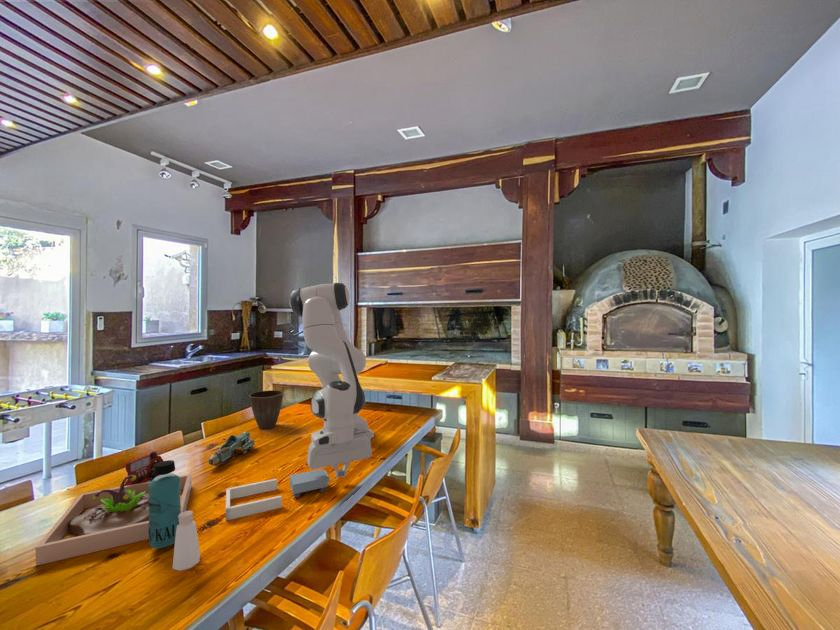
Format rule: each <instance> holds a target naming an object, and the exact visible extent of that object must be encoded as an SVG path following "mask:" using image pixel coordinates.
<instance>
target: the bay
mask: <svg viewBox="0 0 840 630" xmlns="http://www.w3.org/2000/svg"><path fill="white" fill-rule="evenodd" d="M277 490H278V479H277V478H272V479H267V480H263V481H259V482H253V483H249V484H248V483H247V484H242V485H239V486H233V487H229V488H226V490H225V493H226V494H225V521H226V522H227V521H232V520H234V519H239V518H243V517H247V516H252V515H257V514H260V513H264V512H269V511H272V510H278V509H281V508H282V509H283V502H282V501H283V499H282V495H278V496H273V497H268V498H263V499H258V500H255V501H254V500H253V501H250V502H245V503H240V504H237V505H232V506H231V500H234V499H239V498H243V497H247V496H253V495H258V494H262V493H266V492H271V491H277Z"/></svg>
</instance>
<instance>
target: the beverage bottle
mask: <svg viewBox="0 0 840 630" xmlns="http://www.w3.org/2000/svg"><path fill="white" fill-rule="evenodd" d="M174 471H176V464H175V461H174V460H172V459H171V460H170V459H169V460H163V461H162V462H159V463H157V464H156V465H155V468H154V474H155V475H160V476H157V477H156V478H154V479H153V480H152V481H151V482H150V483H149V500H148V501H149V503H148V504H149V525H148V538H149V539H148V543H149V546H150V548H153V549H161V548H166V547H169V546H171V545H173V544H175V536H176V528H177V525H179V518H178V516H179V514H180V513H181V508H182V507H181V504H180V501H181V490H180V477H179V476H180V475H177V474H175V473H173V472H174Z"/></svg>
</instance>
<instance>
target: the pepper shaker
mask: <svg viewBox="0 0 840 630" xmlns="http://www.w3.org/2000/svg"><path fill="white" fill-rule="evenodd" d="M178 518H179V525H177V528H176V536H175V543H174V548H173V558H172V559H173V560H172V570H175V571H178V572H182V571H185V570H189V569H191V568H193V567H194V566H196V565H197V564H199V562H200V558H201V554H200V553H201V552H200V545H199V538H198V532H197V524H196V521H195V520H193V519H194V511H193V510H186V511H185V512H182V513H180V514H179V516H178Z"/></svg>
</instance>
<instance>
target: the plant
mask: <svg viewBox="0 0 840 630" xmlns="http://www.w3.org/2000/svg"><path fill="white" fill-rule="evenodd" d="M128 478H129V479H130V480H131V481H134V480H135V479H136V476H135V475H129V476H128V475H126V476H125V477H124V479H122V482H121V484H120V485H119V487H120V491H119V492H115V491H113V490H106V489H107V488H105V489H101V490H102V491H100V490H99V491H100V492H98V493H97V494H95V495H94V496H93V500H97V499H98V498H99V494H100V493H103V492H109V493H110V494H111V495H112V499H109V498H104V499H101V501H102V502H103V503H104V504H101V505H99V506H96V507H91V508H87V510H86V509H85V511H84V512H82V514H80V515H79V516H76V517H74V518H73V519H72V520H71V521H70V523H69V529H68V531H69V533H71V534H73V535H77V536H82V535H86V534H91V533H96V532H100V531H105V530H109V529H114V528H118V527H123V526H128V525H132V524H137V523H141V522H146V521H149V504H148V503H149V501H148V500H149V493H148V492H146V491H144V492H141V493H137V494H135V490H133V491H131V490H129V489H127V490H124V486H125V483H126V481H127V480H128Z"/></svg>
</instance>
